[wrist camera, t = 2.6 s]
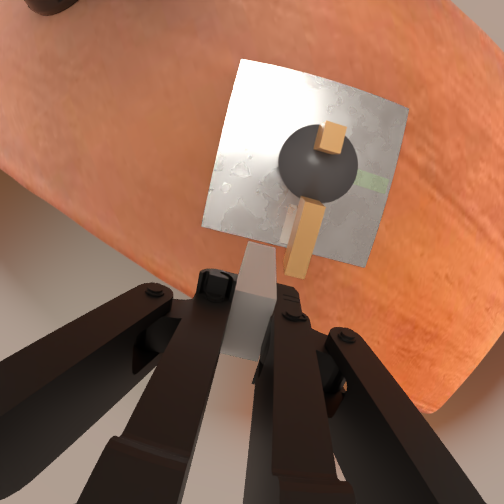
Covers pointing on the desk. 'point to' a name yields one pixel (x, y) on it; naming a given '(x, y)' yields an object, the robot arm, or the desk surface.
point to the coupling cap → (314, 184)
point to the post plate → (267, 152)
